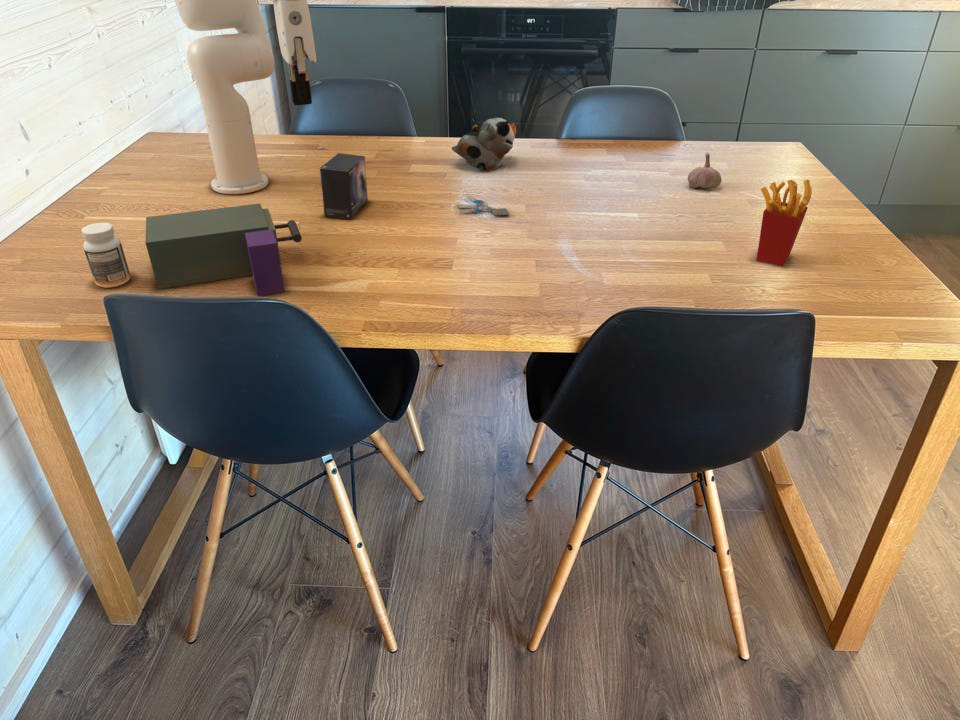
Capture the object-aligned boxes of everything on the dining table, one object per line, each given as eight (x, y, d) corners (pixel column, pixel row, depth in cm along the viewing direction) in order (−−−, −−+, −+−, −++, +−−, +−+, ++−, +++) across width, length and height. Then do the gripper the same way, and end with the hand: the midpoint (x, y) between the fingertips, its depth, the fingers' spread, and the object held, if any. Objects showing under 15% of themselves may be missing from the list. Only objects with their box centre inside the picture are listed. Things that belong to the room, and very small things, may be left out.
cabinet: (267, 246, 134) (260, 203, 129) (275, 271, 125) (268, 226, 120) (158, 261, 128) (146, 216, 123) (158, 289, 119) (145, 242, 114)
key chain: (514, 213, 148) (514, 209, 148) (488, 224, 143) (488, 220, 143) (467, 196, 156) (467, 193, 156) (440, 206, 151) (440, 203, 151)
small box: (353, 220, 145) (348, 170, 139) (323, 217, 146) (317, 168, 140) (369, 202, 153) (366, 154, 148) (341, 199, 154) (336, 152, 149)
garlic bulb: (684, 189, 162) (690, 155, 157) (688, 179, 167) (694, 146, 163) (718, 194, 159) (725, 159, 155) (721, 184, 165) (728, 150, 161)
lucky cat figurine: (470, 151, 183) (497, 103, 177) (505, 178, 181) (533, 130, 174) (442, 149, 171) (469, 97, 164) (478, 178, 168) (508, 126, 162)
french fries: (787, 270, 127) (809, 190, 119) (741, 259, 131) (760, 181, 122) (797, 252, 133) (819, 176, 125) (753, 242, 137) (772, 167, 129)
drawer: (297, 238, 135) (292, 205, 131) (306, 260, 127) (301, 225, 123) (170, 256, 128) (161, 221, 124) (171, 280, 120) (161, 244, 116)
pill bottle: (102, 274, 123) (85, 221, 118) (136, 273, 124) (120, 220, 118) (90, 289, 119) (72, 235, 113) (125, 288, 119) (108, 234, 114)
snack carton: (253, 280, 122) (244, 232, 117) (280, 276, 123) (272, 229, 118) (257, 296, 117) (248, 246, 112) (285, 291, 119) (276, 242, 114)
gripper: (318, -8, 110) (331, 112, 120) (303, -18, 122) (316, 92, 132) (269, -7, 108) (287, 116, 118) (258, -17, 119) (275, 95, 129)
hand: (302, 103), depth 125 cm, fingers closed
